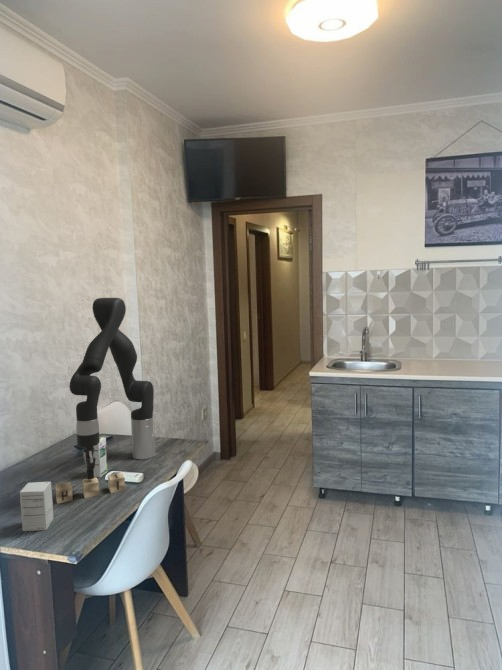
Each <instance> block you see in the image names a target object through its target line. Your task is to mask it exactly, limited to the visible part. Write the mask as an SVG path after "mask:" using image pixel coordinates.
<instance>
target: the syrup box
mask: <svg viewBox="0 0 502 670" xmlns="http://www.w3.org/2000/svg"><path fill="white" fill-rule="evenodd" d="M99 439H100V442H99V444H97V445H95V446H93V447H94V450H95V452H96V454H95V458H96V460H95V468H94V478H95V477H97V478H102V477H103V476H104V475H105V474H107V473H108V472H109V469H108V468H109V467H108V452H107V451H108V450H107V437H106V436H99Z"/></svg>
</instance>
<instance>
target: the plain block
mask: <svg viewBox="0 0 502 670" xmlns="http://www.w3.org/2000/svg"><path fill="white" fill-rule="evenodd" d="M81 482H82V494H83V497H84V499H89V498H94V496H95V497H99V496H100V482H99V479H98V477H94V478H93V479H89V480H88V479H87V478H84V479H82V480H81Z"/></svg>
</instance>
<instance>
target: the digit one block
mask: <svg viewBox="0 0 502 670" xmlns="http://www.w3.org/2000/svg"><path fill="white" fill-rule="evenodd" d="M125 480H126V479H125V476H124V475H123V472H119V473H118V472H117V473H112V474H108V475H107V482H108V483H107V486H108V490H109V493H110V494H114V493H115V494H116V493H120V492H125V491H126V487H125V486H126V485H125V483H126V481H125ZM124 490H125V491H124Z"/></svg>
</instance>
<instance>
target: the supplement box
mask: <svg viewBox="0 0 502 670" xmlns="http://www.w3.org/2000/svg"><path fill="white" fill-rule="evenodd" d="M19 500H20V501H19V504H20V516H21V527H22V528H21V529H22V530H21V531H22V532H31V531H32V532H33V531H35V532H36V531H47V530H48V528H49V526H50V525H51V524H52V522H53V520H54V509H53V507H54V504H53V492H52V482H51V481H37V482H33V481H32V482H27V483H26V484H25V486H23V487H22V489H21V490H19Z"/></svg>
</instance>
